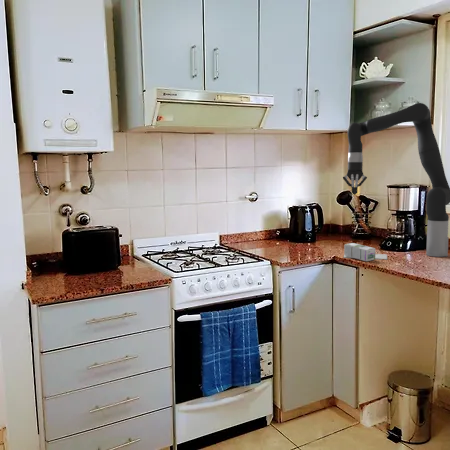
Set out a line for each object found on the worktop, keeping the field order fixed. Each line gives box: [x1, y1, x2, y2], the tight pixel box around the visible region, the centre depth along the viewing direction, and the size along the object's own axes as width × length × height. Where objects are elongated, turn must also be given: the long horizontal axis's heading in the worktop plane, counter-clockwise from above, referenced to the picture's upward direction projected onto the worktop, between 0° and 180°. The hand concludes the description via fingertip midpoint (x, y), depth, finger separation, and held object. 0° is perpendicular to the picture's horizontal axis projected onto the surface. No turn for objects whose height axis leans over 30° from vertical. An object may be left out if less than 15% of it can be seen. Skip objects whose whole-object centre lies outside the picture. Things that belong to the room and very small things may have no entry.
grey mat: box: [342, 253, 388, 261], centre depth 229 cm, size 20×12×1 cm, turn 72°
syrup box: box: [343, 242, 376, 262], centre depth 224 cm, size 6×6×14 cm
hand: (354, 194), depth 251 cm, fingers closed
